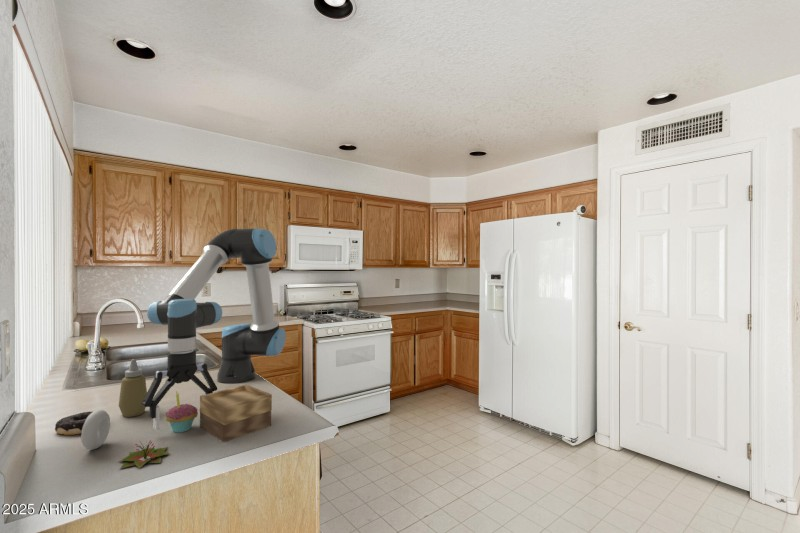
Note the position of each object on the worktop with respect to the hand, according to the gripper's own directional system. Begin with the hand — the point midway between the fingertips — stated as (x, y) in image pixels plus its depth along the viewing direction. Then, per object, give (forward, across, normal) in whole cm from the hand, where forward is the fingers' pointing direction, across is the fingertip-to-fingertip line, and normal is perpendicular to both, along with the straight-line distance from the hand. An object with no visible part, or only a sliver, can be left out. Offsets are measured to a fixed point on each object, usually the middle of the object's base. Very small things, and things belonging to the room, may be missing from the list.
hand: (181, 421), depth 119 cm
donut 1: (+3, +20, -23) cm, 30 cm away
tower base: (+3, -12, +10) cm, 16 cm away
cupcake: (+2, 0, 0) cm, 2 cm away
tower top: (-2, -12, +10) cm, 16 cm away
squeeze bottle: (+2, +6, -24) cm, 25 cm away
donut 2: (+2, +20, -4) cm, 21 cm away
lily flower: (+3, +13, +12) cm, 18 cm away
